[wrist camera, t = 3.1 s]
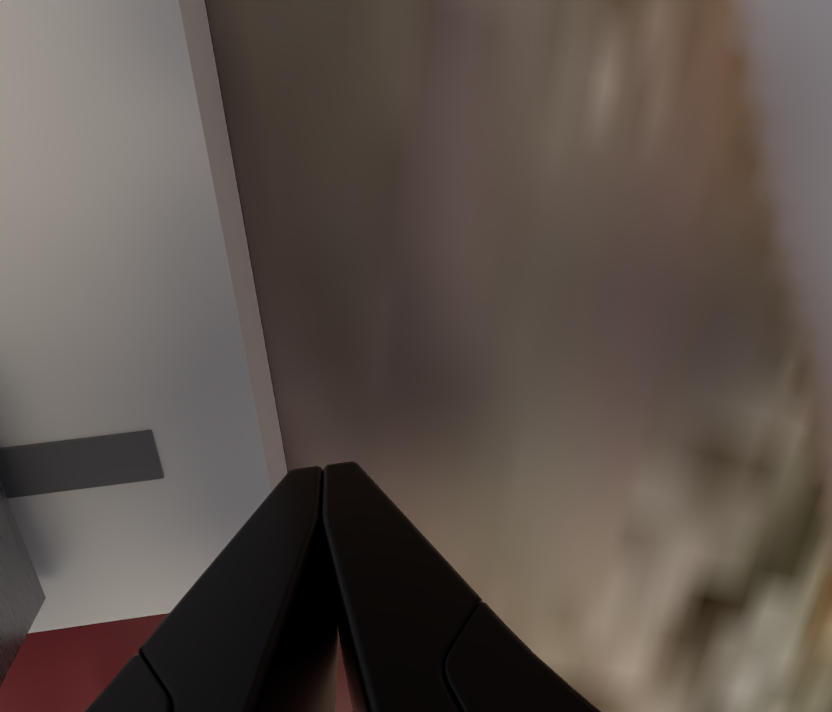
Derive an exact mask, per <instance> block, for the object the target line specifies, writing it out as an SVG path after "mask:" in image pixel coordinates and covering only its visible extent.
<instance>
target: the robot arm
mask: <svg viewBox="0 0 832 712" xmlns="http://www.w3.org/2000/svg"><path fill="white" fill-rule="evenodd" d="M338 631H339V636H338ZM339 637H340V644H341V650H342V656H343V662H344V667H345V672H346V677H347V683H348V688H349V693H350V698H351V703H352V708H353V712H601V711H600V710H599V709H597V708H596V707H595V706H594V705H593V704H591V703H590V702H589V701H588V700H587V699H586V698H584V697H583V696H582V695H581V694H580V693H578V692H577V691H576V690H575V689H574V688H572V687H571V686H570V685H569V684H568V683H567V682H566V681H565V680H563V679H562V678H561V677H560V676H559V675H558V674H557V673H555V672H554V671H553V670H552V669H551V668H550V667H549V666H547V665H546V664H545V663H544V662H543V661H542V660H541V659H540V658H538V657H537V656H536V655H535V654H534V653H533V652H532V651H531V650H530V649H529V648H528V647H527V646H526V645H525V644H524V643H523V642H522V641H521V640H520V639H519V638H518V637H517V636H516V635H515V634H514V633H513V632H512V631H511V630H510V629H509V628H508V627H507V626H506V625H505V624H504V622H503V621H502V620H501V619H500V618H499V617H498V616H497V615H496V614H495V613H494V611H493V610H492V609H491V608H490V607H489V606H488V605H487V604H486V603H484V602H482V599H481V598H480V597H479V596H478V594H477V593H476V592H475V591H474V590H473V589H472V588H471V587H470V586H469V585H468V584H467V582H466V581H465V580H464V579H463V578H462V577H461V576H460V575H459V574H458V573H457V572H456V570H455V569H454V568H453V567H452V566H451V565H450V564H449V563H448V562H447V561H446V560H445V559H444V557H443V556H442V555H441V554H440V553H439V552H438V551H437V550H436V549H435V548H434V547H433V545H432V544H431V543H430V542H429V541H428V540H427V539H426V538H425V537H424V536H423V535H422V533H421V532H420V531H419V530H418V529H417V528H416V527H415V526H414V525H413V524H412V523H411V522H410V520H409V519H408V518H407V517H406V516H405V515H404V514H403V513H402V512H401V511H400V510H399V508H398V507H397V506H396V505H395V504H394V503H393V502H392V501H391V500H390V499H389V498H388V496H387V495H386V494H385V493H384V492H383V491H382V490H381V489H380V488H379V487H378V486H377V484H376V483H375V482H374V481H373V480H372V479H371V478H370V477H369V476H368V475H367V474H366V473H365V471H364V470H363V469H362V468H361V467H360V466H359V465H358V464H357V463H355V462H345V463H337V464H330V465H327V466H326V467H325V468H324V470H323V469H322V468H321V467H319V466H314V467H306V468H298V469H292V470H290V471H289V472H288V473H287V474H286V475H285V476H284V477H283V479H282V480H281V481H280V482H279V483H278V485H277V486H276V487H275V488H274V489H273V490H272V492H271V493H270V494H269V495H268V496H267V498H266V499H265V500H264V501H263V502H262V504H261V505H260V506H259V507H258V508H257V510H256V511H255V512H254V513H253V514H252V515H251V517H250V518H249V519H248V520H247V521H246V523H245V524H244V525H243V526H242V527H241V529H240V530H239V531H238V532H237V533H236V535H235V536H234V537H233V538H232V539H231V540H230V542H229V543H228V544H227V545H226V546H225V548H224V549H223V550H222V551H221V552H220V554H219V555H218V556H217V557H216V558H215V560H214V561H213V562H212V563H211V564H210V566H209V567H208V568H207V569H206V570H205V571H204V573H203V574H202V575H201V576H200V577H199V579H198V580H197V581H196V582H195V583H194V585H193V586H192V587H191V588H190V589H189V591H188V592H187V593H186V594H185V595H184V596H183V598H182V599H181V600H180V601H179V602H178V604H177V605H176V606H175V607H174V608H173V610H172V611H171V612H170V613H169V614H168V616H167V617H166V618H165V619H164V620H163V621H162V623H161V624H160V625H159V626H158V627H157V629H156V630H155V631H154V632H153V633H152V635H151V636H150V637H149V638H148V639H147V641H146V642H145V643H144V644H143V645H142V646H141V648H140V649H139V654H135V655H134V656H133V657H132V658H131V659H130V660H129V662H128V663H127V664H126V665H125V666H124V667H123V669H122V670H121V671H120V672H119V673H118V675H117V676H116V677H115V678H114V679H113V681H112V682H111V683H110V684H109V685H108V686H107V687H106V689H105V690H104V691H103V692H102V693H101V694H100V695H99V697H98V698H97V699H96V700H95V701H94V702H93V703H92V704H91V706H90V707H89V708H88V709H87V710H86V711H85V712H335V700H336V685H337V670H338V649H339Z"/></svg>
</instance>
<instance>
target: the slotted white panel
mask: <svg viewBox="0 0 832 712" xmlns="http://www.w3.org/2000/svg"><path fill="white" fill-rule="evenodd" d="M287 473H288V472H287V466H286V461H285V455H284V449H283V444H282V438H281V432H280V427H279V421H278V415H277V409H276V404H275V398H274V392H273V387H272V381H271V375H270V370H269V364H268V358H267V353H266V347H265V341H264V336H263V330H262V324H261V319H260V313H259V307H258V302H257V296H256V290H255V284H254V279H253V273H252V267H251V262H250V256H249V250H248V245H247V239H246V233H245V228H244V222H243V216H242V211H241V205H240V199H239V194H238V188H237V182H236V176H235V171H234V165H233V159H232V154H231V148H230V142H229V137H228V131H227V125H226V120H225V114H224V108H223V103H222V97H221V91H220V86H219V80H218V74H217V68H216V63H215V57H214V51H213V46H212V40H211V34H210V29H209V23H208V17H207V12H206V6H205V0H0V482H1V484H2V487H3V489H4V492H5V494H6V497H7V499H8V502H9V505H10V507H11V510H12V512H13V515H14V517H15V520H16V523H17V525H18V528H19V530H20V533H21V535H22V538H23V540H24V543H25V546H26V548H27V551H28V553H29V556H30V558H31V561H32V564H33V566H34V569H35V571H36V574H37V576H38V579H39V582H40V584H41V587H42V589H43V592H44V594H45V597H46V599H45V600H44V602H43V604H42V606H41V608H40V610H39V612H38V614H37V616H36V618H35V620H34V622H33V624H32V626H31V628H30V630H29V632H28V633H34V632H41V631H48V630H55V629H62V628H69V627H75V626H82V625H89V624H96V623H103V622H110V621H117V620H124V619H131V618H138V617H144V616H151V615H158V614H165V613H170V612H171V611H172V610H173V608H174V607H175V606H176V605H177V604H178V602H179V601H180V600H181V599H182V598H183V596H184V595H185V594H186V593H187V592H188V591H189V589H190V588H191V587H192V586H193V585H194V583H195V582H196V581H197V580H198V579H199V577H200V576H201V575H202V574H203V573H204V571H205V570H206V569H207V568H208V567H209V566H210V564H211V563H212V562H213V561H214V560H215V558H216V557H217V556H218V555H219V554H220V552H221V551H222V550H223V549H224V548H225V546H226V545H227V544H228V543H229V542H230V540H231V539H232V538H233V537H234V536H235V535H236V533H237V532H238V531H239V530H240V529H241V527H242V526H243V525H244V524H245V523H246V521H247V520H248V519H249V518H250V517H251V515H252V514H253V513H254V512H255V511H256V510H257V508H258V507H259V506H260V505H261V504H262V502H263V501H264V500H265V499H266V498H267V496H268V495H269V494H270V493H271V492H272V490H273V489H274V488H275V487H276V486H277V485H278V483H279V482H280V481H281V480H282V479H283V477H284V476H285V475H286V474H287Z"/></svg>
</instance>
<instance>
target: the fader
mask: <svg viewBox="0 0 832 712" xmlns="http://www.w3.org/2000/svg"><path fill="white" fill-rule="evenodd" d="M45 599H46V597H45V594H44V592H43V589H42V587H41V584H40V582H39V579H38V576H37V574H36V571H35V569H34V566H33V564H32V561H31V558H30V556H29V553H28V551H27V548H26V546H25V543H24V540H23V538H22V535H21V533H20V530H19V528H18V525H17V523H16V520H15V517H14V515H13V512H12V510H11V507H10V505H9V502H8V499H7V497H6V494H5V492H4V489H3V487H2V484H1V482H0V686H1V684H2V682H3V680H4V678H5V676H6V674H7V672H8V671H9V669H10V667H11V665H12V663H13V661H14V659H15V657H16V655H17V653H18V651H19V649H20V647H21V645H22V643H23V641H24V639H25V637H26V635H27V634H28V632H29V630H30V628H31V626H32V624H33V622H34V620H35V618H36V616H37V614H38V612H39V610H40V608H41V606H42V604H43V602H44V600H45Z"/></svg>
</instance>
